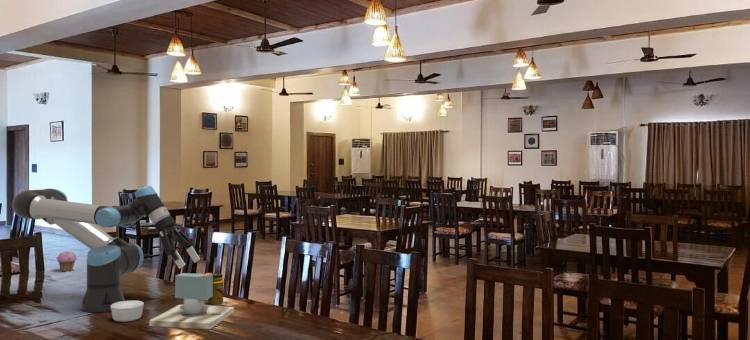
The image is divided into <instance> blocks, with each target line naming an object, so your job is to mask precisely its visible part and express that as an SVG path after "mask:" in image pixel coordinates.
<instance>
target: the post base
mask: <svg viewBox="0 0 750 340" xmlns="http://www.w3.org/2000/svg"><path fill="white" fill-rule="evenodd" d="M181 305H183V306H184V304H178V305H175V306H174V307H172V308H170V309H168V310H167V311H165V312H163V313H161V314H158V315H157V316H155V317H153V318H151V319H149V325H148V326H149V327H154V328H155V327H159V328H160V327H161V328H175V329H176V328H178V329H196V330H197V329H200V330H212V329H213V328H214V327H216V326H217V325H219V324H220V323H221V322H222V321H224V320H226V319H227V318H228V317H230V316H231V315H233V314H234V313H235V306H223V305H217V306H205V307H208V310H207V311H205V310H204V312H203V313H200V314H185V313H184V309H180V306H181Z"/></svg>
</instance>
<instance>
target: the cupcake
mask: <svg viewBox="0 0 750 340" xmlns="http://www.w3.org/2000/svg"><path fill="white" fill-rule="evenodd" d="M56 261H57V262H58V265H59V269H60V271H61V272H64V273H67V272H66V271H68V272H71V271H73V268H74V266H75V262H76V261H77V255H76V254H75V252H72V251H64V252H59V255H58V256H57V257H56Z"/></svg>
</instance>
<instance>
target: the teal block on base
mask: <svg viewBox="0 0 750 340" xmlns="http://www.w3.org/2000/svg"><path fill="white" fill-rule="evenodd" d="M174 277H175V278H174V280H175V281H174V283H175V284H174V298H175V299H183V304H180V305H181V306H180V309H184V313H185V314H200V313H203V312H204V310H205V311H207V310H208V307H205V306H204V302H205V300H208V298H210V297H212V296H213V274H212V272H206V273H190V272H189V273H187V272H181V273H179V274H175V276H174ZM183 305H184V306H183Z"/></svg>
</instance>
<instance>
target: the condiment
mask: <svg viewBox="0 0 750 340" xmlns="http://www.w3.org/2000/svg"><path fill="white" fill-rule="evenodd" d="M211 273H212V272H211ZM212 274H213V296H212V297H210V298H208V299H207V301H204V306H223V305H227V303H225V302H224V279H223V276H224V275H223V273H220V272H213V273H212Z"/></svg>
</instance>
